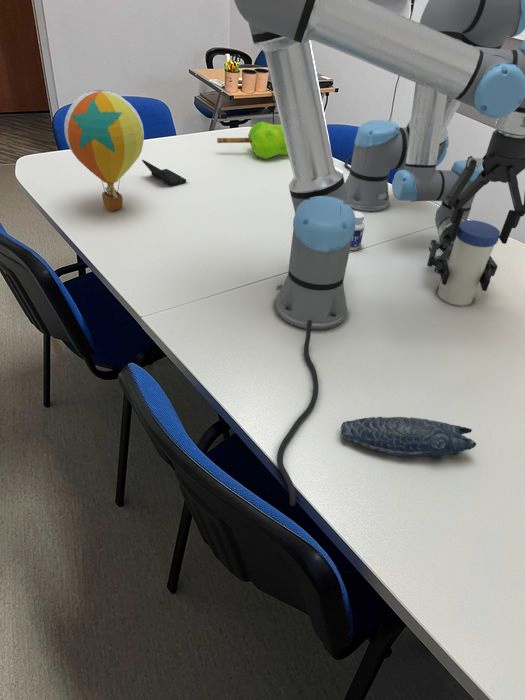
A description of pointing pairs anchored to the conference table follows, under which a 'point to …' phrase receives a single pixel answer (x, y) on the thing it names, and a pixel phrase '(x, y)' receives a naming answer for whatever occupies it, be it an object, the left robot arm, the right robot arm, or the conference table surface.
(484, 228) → the lid
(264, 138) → the decorative tree
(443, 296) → the jar
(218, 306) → the conference table surface
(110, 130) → the toy
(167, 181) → the black angled piece
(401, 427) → the fish model
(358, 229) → the pill bottle
